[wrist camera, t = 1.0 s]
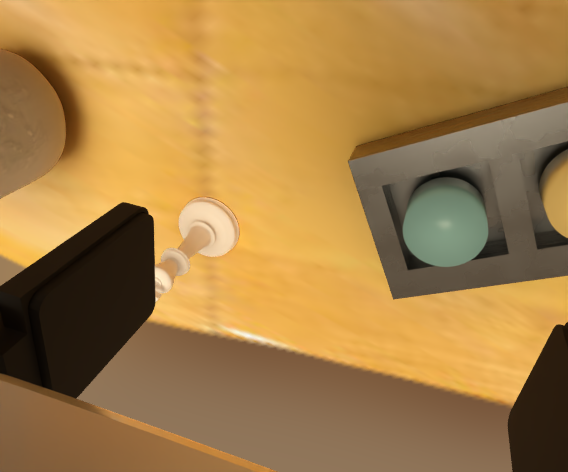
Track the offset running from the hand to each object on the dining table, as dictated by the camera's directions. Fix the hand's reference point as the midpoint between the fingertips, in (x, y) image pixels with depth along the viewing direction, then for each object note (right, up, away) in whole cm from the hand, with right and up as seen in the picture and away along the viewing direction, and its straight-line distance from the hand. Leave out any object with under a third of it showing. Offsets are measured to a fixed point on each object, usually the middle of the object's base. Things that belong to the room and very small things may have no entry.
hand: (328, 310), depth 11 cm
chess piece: (-7, +3, +27) cm, 28 cm away
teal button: (+9, +3, +19) cm, 21 cm away
